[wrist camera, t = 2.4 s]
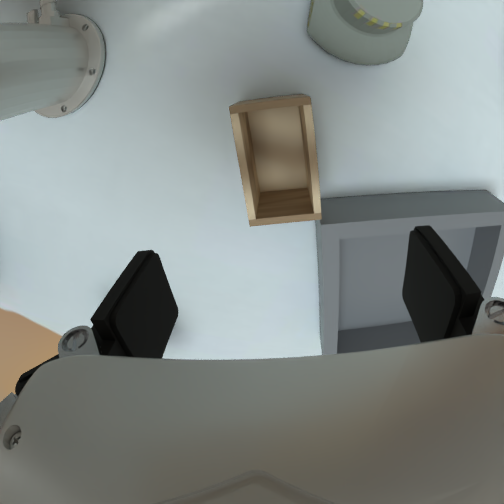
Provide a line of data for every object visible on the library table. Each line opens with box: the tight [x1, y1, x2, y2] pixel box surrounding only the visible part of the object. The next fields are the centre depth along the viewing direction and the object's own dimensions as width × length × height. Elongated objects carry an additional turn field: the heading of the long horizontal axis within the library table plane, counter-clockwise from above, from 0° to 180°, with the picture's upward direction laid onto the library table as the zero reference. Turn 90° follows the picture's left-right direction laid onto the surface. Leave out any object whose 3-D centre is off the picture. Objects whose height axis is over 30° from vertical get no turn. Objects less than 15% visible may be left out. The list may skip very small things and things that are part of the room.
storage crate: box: [315, 190, 504, 355], centre depth 32 cm, size 20×22×6 cm
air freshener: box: [307, 0, 423, 65], centre depth 17 cm, size 11×8×10 cm
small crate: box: [229, 94, 322, 226], centre depth 26 cm, size 10×6×7 cm, turn 9°
